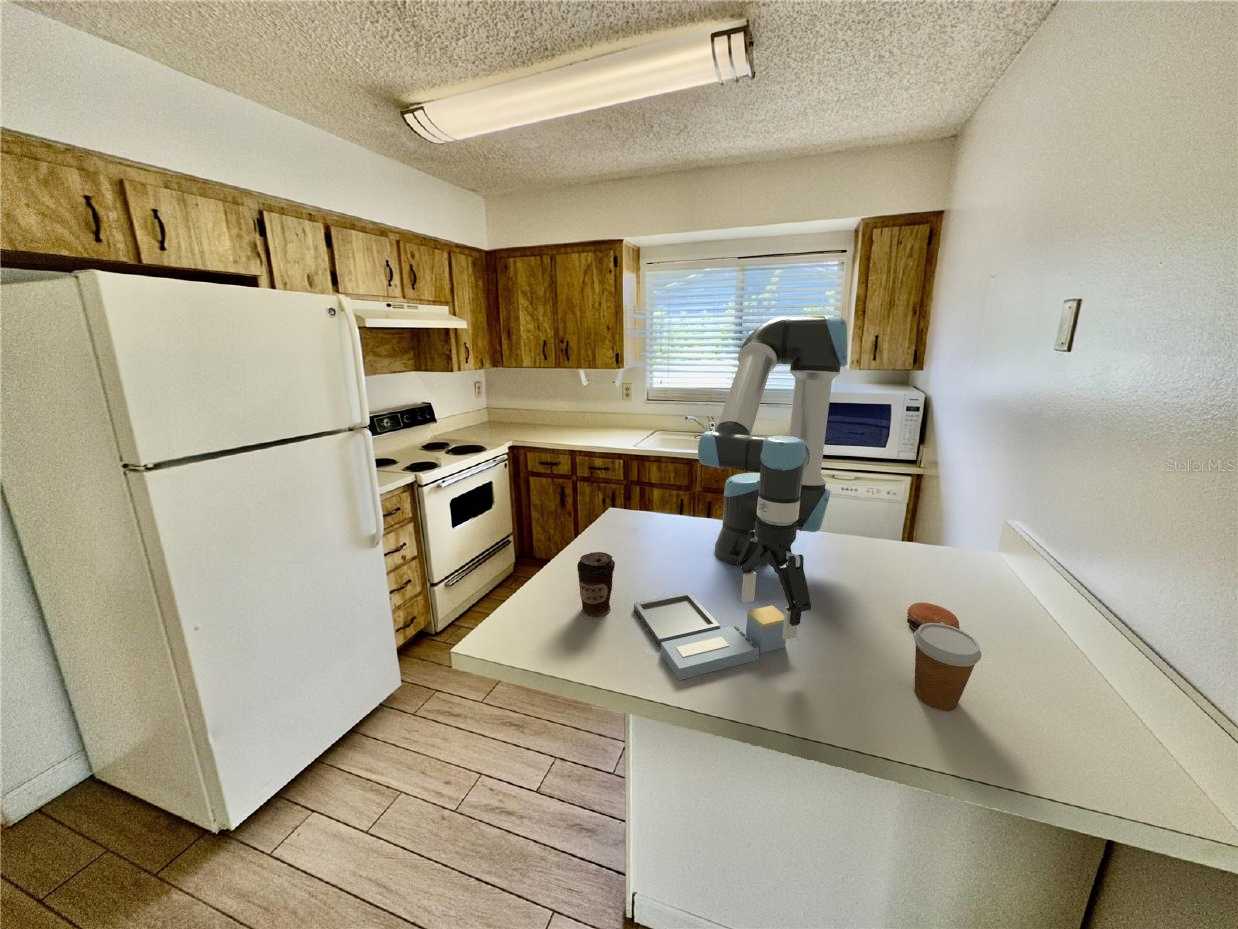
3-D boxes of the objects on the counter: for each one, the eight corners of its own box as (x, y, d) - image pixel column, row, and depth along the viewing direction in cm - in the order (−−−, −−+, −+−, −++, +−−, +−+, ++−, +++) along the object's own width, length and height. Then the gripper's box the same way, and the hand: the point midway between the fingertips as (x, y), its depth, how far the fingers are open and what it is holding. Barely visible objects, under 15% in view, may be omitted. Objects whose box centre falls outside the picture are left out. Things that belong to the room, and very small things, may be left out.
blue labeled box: (735, 635, 101) (736, 624, 100) (758, 659, 93) (759, 647, 93) (660, 653, 95) (661, 641, 94) (678, 680, 88) (679, 667, 87)
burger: (932, 614, 108) (936, 596, 107) (969, 640, 99) (973, 620, 98) (894, 619, 106) (897, 601, 105) (927, 646, 97) (931, 626, 96)
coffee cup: (610, 622, 105) (609, 569, 101) (573, 618, 107) (571, 565, 103) (618, 601, 113) (618, 551, 110) (584, 597, 115) (582, 547, 111)
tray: (688, 598, 114) (689, 592, 114) (719, 632, 102) (720, 625, 101) (633, 610, 110) (634, 603, 109) (658, 646, 97) (659, 639, 97)
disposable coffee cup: (892, 680, 88) (902, 622, 85) (941, 677, 89) (953, 620, 85) (928, 720, 79) (941, 658, 75) (983, 717, 79) (998, 654, 76)
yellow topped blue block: (769, 632, 102) (772, 605, 100) (785, 647, 97) (788, 618, 95) (745, 638, 100) (747, 610, 98) (759, 653, 95) (762, 624, 93)
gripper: (724, 500, 101) (718, 591, 106) (805, 547, 78) (792, 660, 84) (754, 496, 103) (747, 585, 109) (842, 541, 81) (827, 651, 86)
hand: (767, 618), depth 96 cm, fingers open, 13 cm apart
